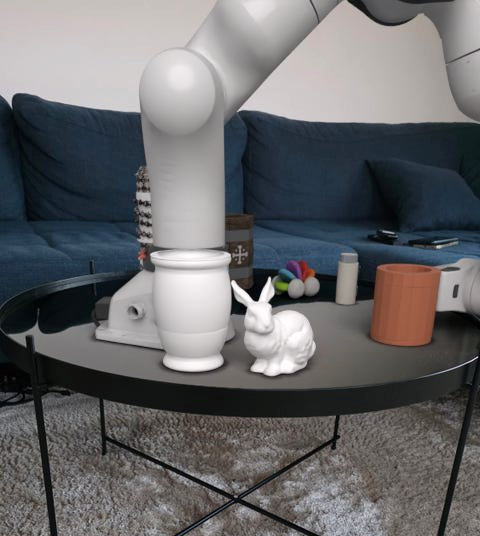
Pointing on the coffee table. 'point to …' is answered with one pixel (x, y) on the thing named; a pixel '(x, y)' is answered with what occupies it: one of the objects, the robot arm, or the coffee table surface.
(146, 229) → the decorative candle
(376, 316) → the terracotta jar
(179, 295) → the jar
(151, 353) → the coffee table surface
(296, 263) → the rainbow wheeled toy
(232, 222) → the mug
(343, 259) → the salt shaker
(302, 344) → the rabbit
